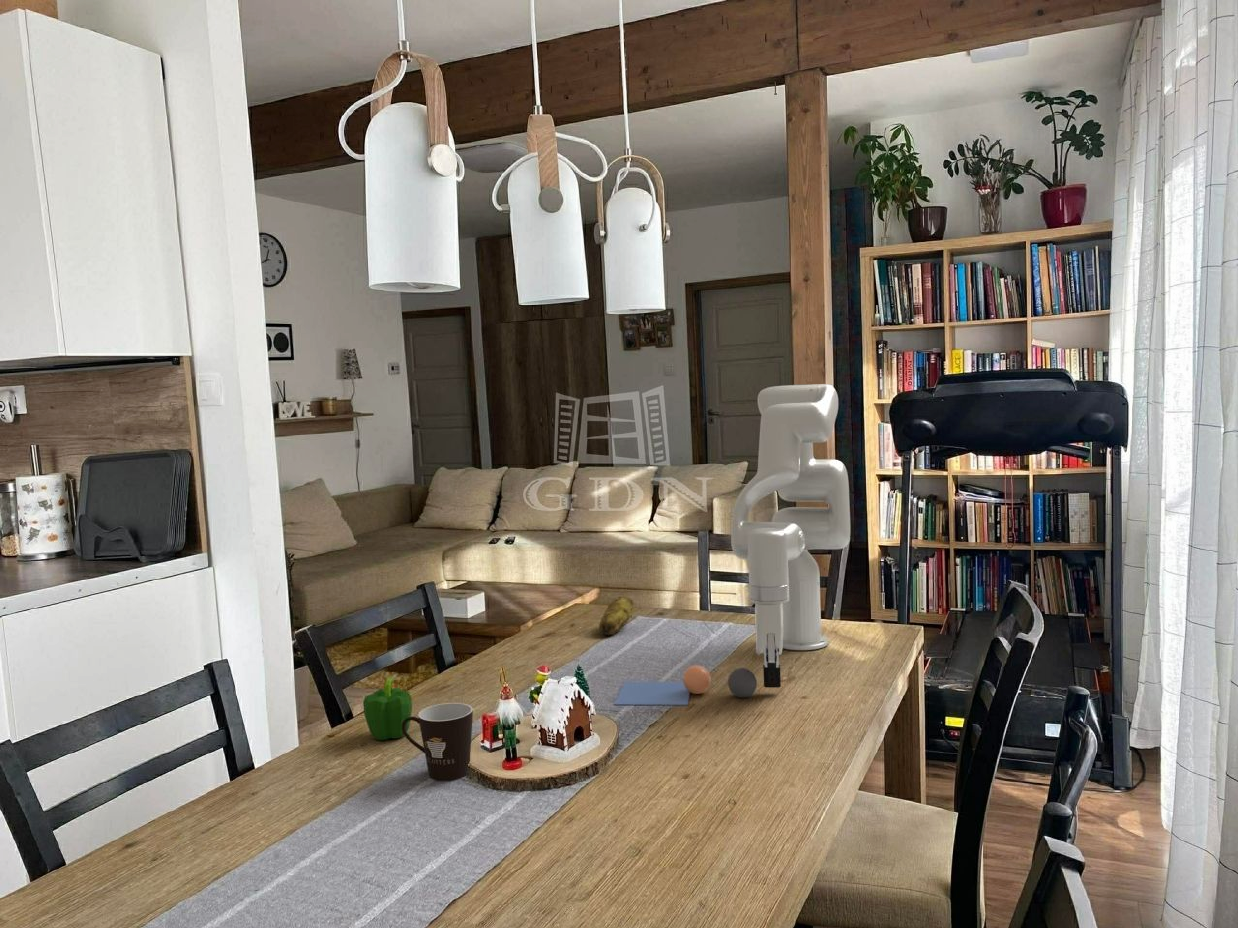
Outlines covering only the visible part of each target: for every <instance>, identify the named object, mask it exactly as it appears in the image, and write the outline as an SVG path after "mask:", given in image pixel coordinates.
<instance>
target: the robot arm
mask: <svg viewBox="0 0 1238 928" xmlns="http://www.w3.org/2000/svg"><path fill="white" fill-rule="evenodd" d="M757 406H758V410H759V413H760V415H761V417H760V425H759V427H760V429H759V444H758V459H757V460H758V461H757V472H756V474H755V475H754V476H753V478H751V480H749V481H748V482H747V484H746V485H745V486H744V487H743V488H742V489H741V492H740V493H739V495H738V496H737V498H736V500H735V503H734V507H733V511H732V521H731V522H732V523H731V534H730V536H731V537H730V538H731V539H730V540H731V541H730V543H731V544H730V545H731V549H732V552H733V554H734V555H735V557H737V558H739V559H741V560H747V561H748V589H749V601H750V602H751V603H753V604H755V605H754V625H755V627H754V628H755V649H756V650H755V652H756V654H757V655H758V656H761V654H763V656H764V657H763V659H764V664H763V667H762V669H763V670H762V671H763V687H764V688H769V689H770V688H772V689H773V688H776V689H777V688H781V685H782V683H781V682H782V681H781V680H782V679H781V665H780V663H779V661H780V660H779V658H780V657H779V656H780V655H782V653H783V650H790V651H812V650H819V649H823V648H824V647H827V646H828V645H829V637H828V636H826V635H824V634H822V619H821V618H822V617H821V616H822V615H821V614H822V613H821V612H822V611H821V585H820V584H821V583H820V582H821V580H820V579H821V577H820V568H819V565H818V562H817V561H816V559H815V557H813V556H812V554H811V553H810V552H809V551H808V550H842V549H844V548H846V547H847V546H848V545H849V543H850V539H851V509H850V487H849V486H850V485H849V475H848V470H847V468H846V466H845V464H844V463H843V462H842V461H840V460H838V459H831V458H830V459H829V458H827V459H816V458H815V457H814V443H825V442H827V441H828V440H829V439H830V437H831V435H832V432H833V430H834V426H835V423H836V419H837V415H838V411H839V397H838V393H837V391H836V389H835V387H834V386H832V385H830V384H828V383H827V384H826V383H822V384H821V383H820V384H819V383H818V384H817V383H815V384H792V385H791V384H790V385H789V384H788V385H779V386H778V385H775V386H770V387H769V386H768V387H766V388H763V389H762V390H760V392H759V393H758V395H757ZM775 492H777V494H778V496H779V497H780V499H781V500H783V501H786V502H797V503H798V502H801V503H802V502H805V503H807V502H808V503H809V502H812V503H813V502H815V503H818V502H819V503H820V502H821V503H822V502H823V503H826V505H828V507H827V506H824V507H823V506H822V507H820V506H819V507H818V506H816V507H815V506H791V507H784V508H782V509H779V510H777V511H776V512H775V513H774V514H773V516H772V518H771V519H772V520H771V521H748V520H749V515H750V513H751V510H752V508H754V506H755V505H756V504H757V503H758V502H759V501H761V499H763V498H765V497H767V496H768V495H770V494H772V493H775Z"/></svg>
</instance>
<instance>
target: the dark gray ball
mask: <svg viewBox="0 0 1238 928" xmlns="http://www.w3.org/2000/svg"><path fill="white" fill-rule="evenodd" d="M727 679H728V680H727V686H728V689H729V691H730V692H731V693H732V694H733V695H734V696H736V697H738V698H748V697H749V696H752V694H754V693H755V691H756V688H757V685H758V682H757V678H756V675H755V674H754V673H753V672H752V671H751V670H750V669H748V668H746V667H745V668H744V667H742V668H739V667H738V668H736V669H734V670H733V671H732V672H731V673H730V674H729V676H728V678H727Z"/></svg>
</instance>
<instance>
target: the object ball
mask: <svg viewBox="0 0 1238 928" xmlns="http://www.w3.org/2000/svg"><path fill="white" fill-rule="evenodd" d="M682 682H683V684H684V686H685V688H686V689H687V690H688V691H689V692H690V694H694V695H701V694H703V693H705V692H707V690H708V689H709V688H710V687H711V682H712V677H711V674H710V672H709V670H708V669H707V668H705V667H704V666H702V665H698V664H696V665H691V666H689V667H688V668H686V670H685V671H684V673H683V676H682Z"/></svg>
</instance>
